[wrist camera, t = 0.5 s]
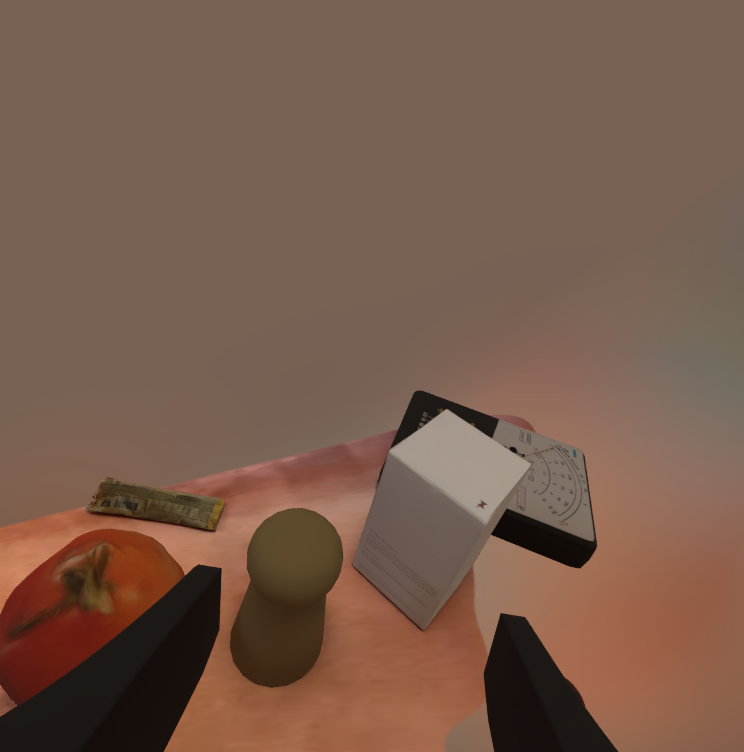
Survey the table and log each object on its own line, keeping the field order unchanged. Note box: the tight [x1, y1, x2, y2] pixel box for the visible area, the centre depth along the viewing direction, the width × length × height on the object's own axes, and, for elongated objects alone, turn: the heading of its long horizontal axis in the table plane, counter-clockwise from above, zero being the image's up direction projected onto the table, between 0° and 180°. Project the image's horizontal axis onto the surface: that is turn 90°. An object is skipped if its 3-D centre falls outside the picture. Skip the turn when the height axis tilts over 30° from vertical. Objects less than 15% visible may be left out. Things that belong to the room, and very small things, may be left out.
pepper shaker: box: [230, 508, 343, 687], centre depth 27 cm, size 6×6×11 cm
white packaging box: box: [352, 409, 531, 630], centre depth 33 cm, size 7×7×13 cm
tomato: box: [0, 529, 185, 705], centre depth 25 cm, size 9×9×8 cm
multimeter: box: [378, 391, 597, 568], centre depth 45 cm, size 13×19×5 cm
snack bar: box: [86, 477, 224, 530], centre depth 36 cm, size 10×2×3 cm
